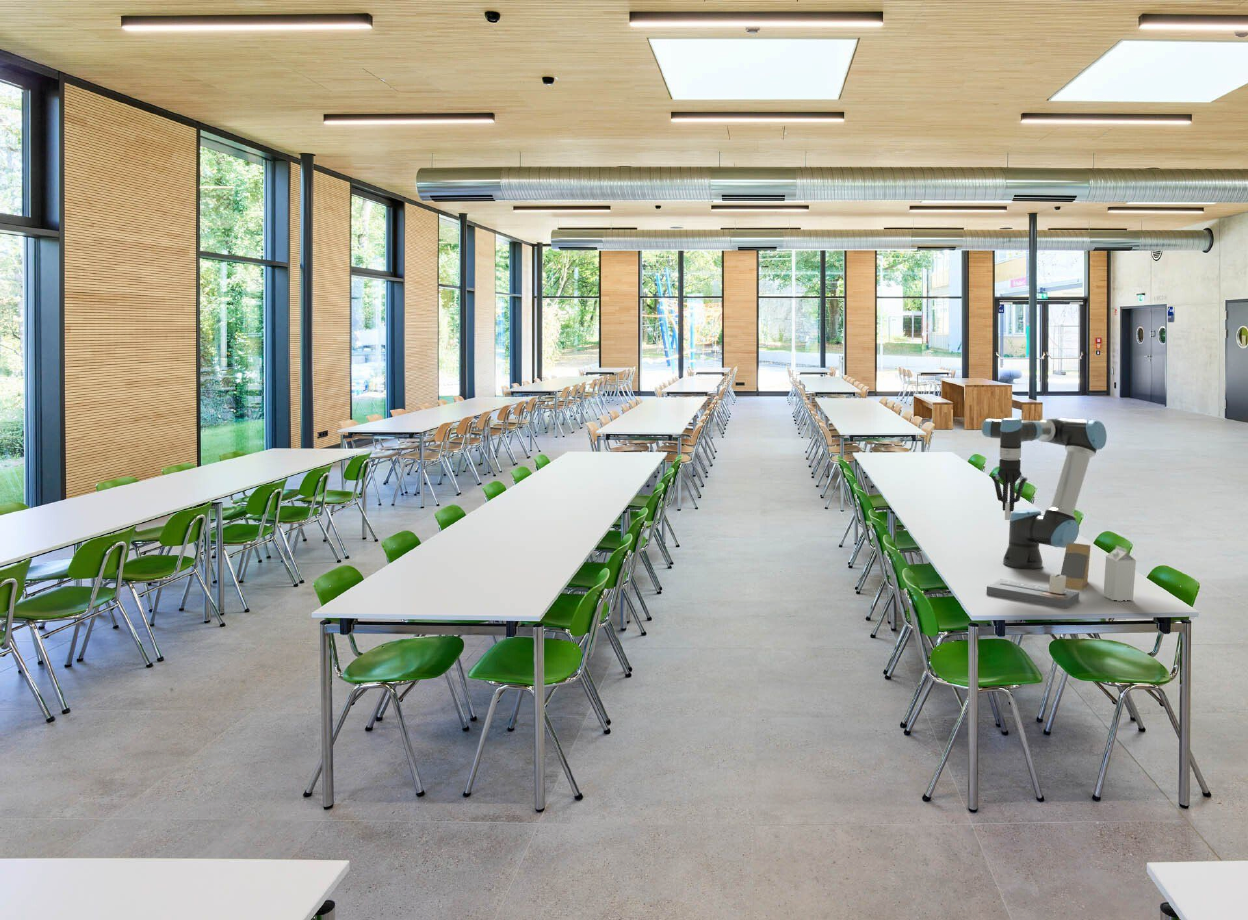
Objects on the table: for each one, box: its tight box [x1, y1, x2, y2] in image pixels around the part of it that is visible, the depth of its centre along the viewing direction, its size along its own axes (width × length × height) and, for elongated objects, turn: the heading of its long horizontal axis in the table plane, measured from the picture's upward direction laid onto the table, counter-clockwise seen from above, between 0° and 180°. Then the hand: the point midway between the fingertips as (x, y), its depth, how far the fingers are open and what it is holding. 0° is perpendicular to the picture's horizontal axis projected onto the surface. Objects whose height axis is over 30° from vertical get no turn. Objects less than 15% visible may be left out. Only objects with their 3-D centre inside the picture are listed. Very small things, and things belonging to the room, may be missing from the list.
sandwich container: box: [1060, 542, 1091, 591], centre depth 361 cm, size 9×15×15 cm, turn 146°
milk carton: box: [1103, 545, 1137, 602], centre depth 341 cm, size 7×7×19 cm
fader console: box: [986, 578, 1080, 609], centre depth 344 cm, size 14×28×3 cm, turn 48°
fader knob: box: [1048, 573, 1066, 594], centre depth 338 cm, size 4×4×6 cm
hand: (1007, 519), depth 362 cm, fingers closed
